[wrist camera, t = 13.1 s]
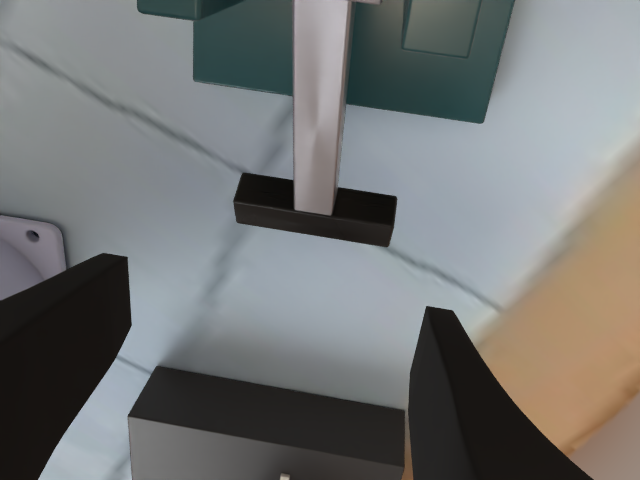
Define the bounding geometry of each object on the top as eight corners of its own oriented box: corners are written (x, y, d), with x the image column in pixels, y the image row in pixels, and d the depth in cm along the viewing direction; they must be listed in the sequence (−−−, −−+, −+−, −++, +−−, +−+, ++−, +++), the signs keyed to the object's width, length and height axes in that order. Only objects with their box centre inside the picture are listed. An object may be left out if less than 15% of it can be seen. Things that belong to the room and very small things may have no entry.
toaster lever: (394, 200, 18) (386, 268, 16) (249, 177, 18) (230, 242, 17) (502, -255, 8) (502, -184, 7) (200, -287, 9) (146, -224, 7)
